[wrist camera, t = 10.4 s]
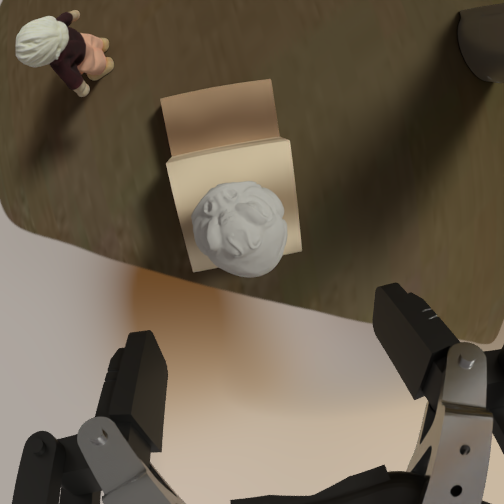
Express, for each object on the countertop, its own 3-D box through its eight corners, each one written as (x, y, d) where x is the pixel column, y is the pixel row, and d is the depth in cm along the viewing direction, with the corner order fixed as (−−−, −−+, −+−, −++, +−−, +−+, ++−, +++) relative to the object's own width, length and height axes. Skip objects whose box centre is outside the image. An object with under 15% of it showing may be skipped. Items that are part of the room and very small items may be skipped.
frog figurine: (250, 150, 21) (266, 166, 15) (292, 228, 24) (320, 272, 18) (177, 192, 22) (163, 226, 16) (225, 264, 25) (230, 318, 19)
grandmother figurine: (69, 43, 20) (-8, 16, 8) (103, 21, 20) (40, -23, 8) (95, 106, 23) (20, 109, 12) (131, 85, 23) (72, 70, 12)
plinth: (164, 100, 24) (152, 96, 19) (265, 81, 24) (279, 74, 19) (196, 242, 30) (193, 272, 25) (285, 225, 31) (302, 251, 25)
